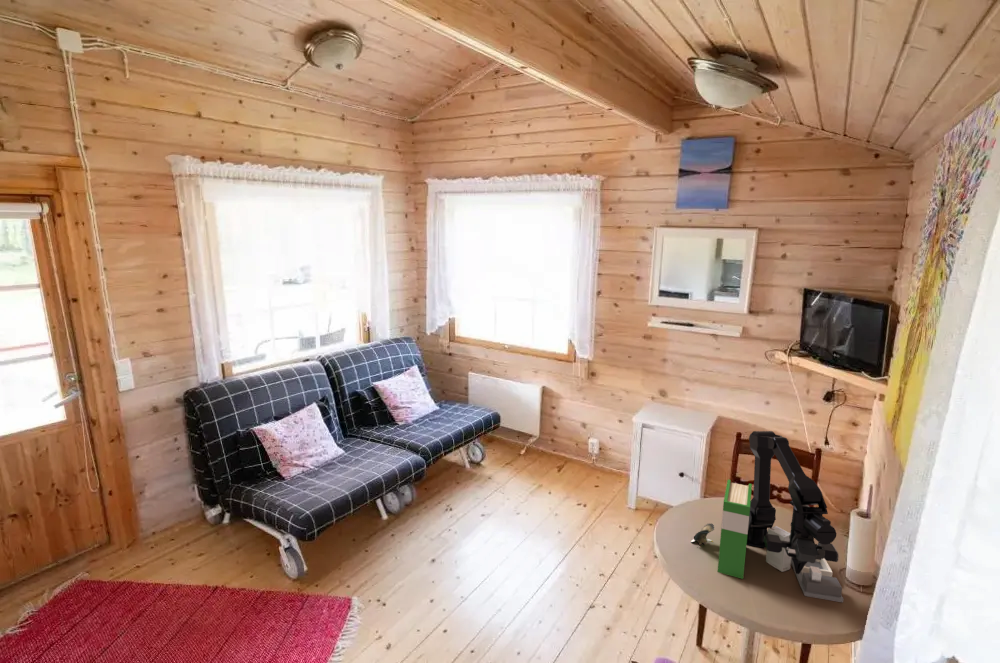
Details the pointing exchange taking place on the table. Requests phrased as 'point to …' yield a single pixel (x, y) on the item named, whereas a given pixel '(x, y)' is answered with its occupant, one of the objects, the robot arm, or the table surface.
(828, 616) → the table surface
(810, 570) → the breaker handle
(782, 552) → the skincare box
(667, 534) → the table surface
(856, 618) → the table surface
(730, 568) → the hardback book
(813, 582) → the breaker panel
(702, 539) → the eagle figurine
